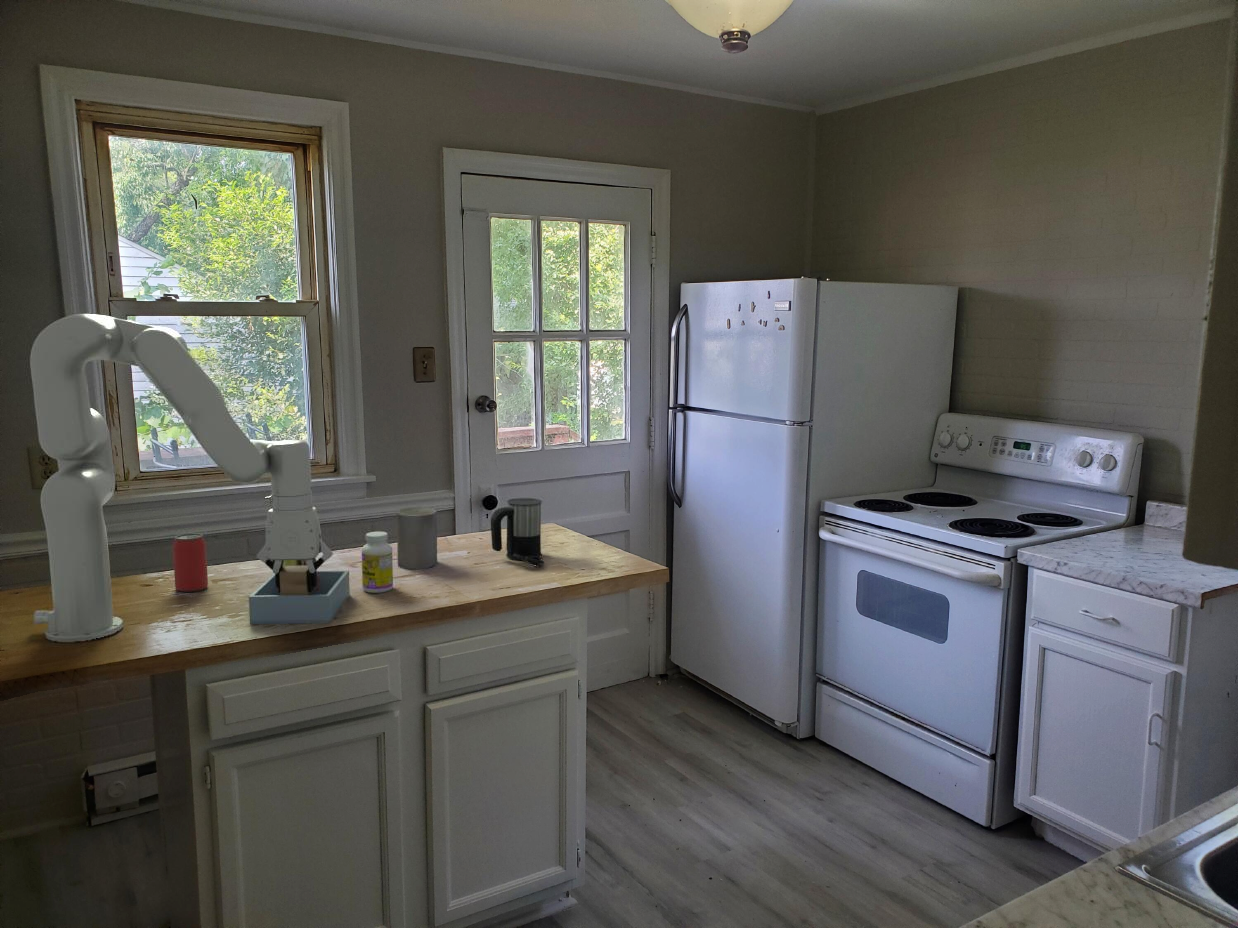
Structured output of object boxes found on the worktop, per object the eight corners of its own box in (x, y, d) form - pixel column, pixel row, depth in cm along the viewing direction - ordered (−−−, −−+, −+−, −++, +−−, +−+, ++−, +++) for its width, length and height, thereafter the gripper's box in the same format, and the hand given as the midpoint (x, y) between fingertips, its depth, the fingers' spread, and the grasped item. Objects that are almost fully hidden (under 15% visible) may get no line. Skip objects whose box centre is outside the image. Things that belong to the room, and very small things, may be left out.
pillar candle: (398, 560, 222) (396, 502, 219) (437, 558, 224) (436, 501, 221) (397, 570, 212) (395, 510, 210) (438, 568, 215) (437, 509, 212)
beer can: (213, 588, 195) (210, 536, 193) (182, 594, 190) (179, 541, 189) (201, 582, 200) (198, 531, 198) (170, 588, 195) (167, 535, 193)
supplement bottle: (356, 589, 197) (355, 533, 195) (382, 583, 201) (381, 528, 200) (373, 595, 192) (371, 538, 190) (399, 589, 197) (397, 533, 195)
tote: (250, 623, 173) (248, 596, 172) (277, 595, 191) (276, 571, 190) (330, 622, 174) (329, 595, 173) (349, 595, 192) (348, 570, 191)
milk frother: (524, 550, 234) (524, 495, 232) (568, 560, 224) (568, 503, 222) (485, 560, 223) (484, 503, 221) (529, 571, 213) (529, 512, 211)
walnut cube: (287, 589, 179) (286, 565, 179) (312, 588, 180) (311, 565, 179) (280, 596, 175) (279, 572, 174) (306, 596, 175) (305, 572, 174)
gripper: (241, 506, 170) (247, 596, 173) (331, 505, 171) (335, 595, 174) (254, 499, 177) (259, 585, 180) (340, 498, 179) (344, 584, 182)
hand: (296, 589), depth 177 cm, fingers closed on walnut cube, 5 cm apart
